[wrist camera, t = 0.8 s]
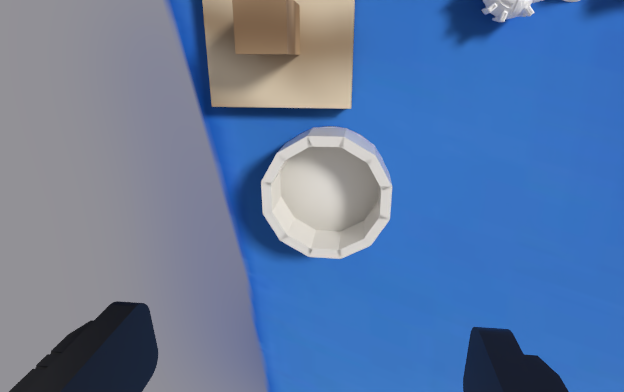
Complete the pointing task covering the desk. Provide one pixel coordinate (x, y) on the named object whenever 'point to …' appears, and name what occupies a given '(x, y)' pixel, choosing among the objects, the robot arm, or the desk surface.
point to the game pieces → (510, 8)
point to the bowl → (327, 193)
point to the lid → (280, 53)
